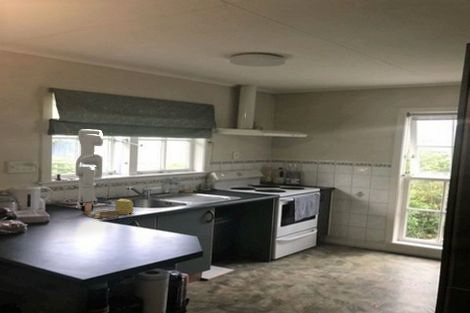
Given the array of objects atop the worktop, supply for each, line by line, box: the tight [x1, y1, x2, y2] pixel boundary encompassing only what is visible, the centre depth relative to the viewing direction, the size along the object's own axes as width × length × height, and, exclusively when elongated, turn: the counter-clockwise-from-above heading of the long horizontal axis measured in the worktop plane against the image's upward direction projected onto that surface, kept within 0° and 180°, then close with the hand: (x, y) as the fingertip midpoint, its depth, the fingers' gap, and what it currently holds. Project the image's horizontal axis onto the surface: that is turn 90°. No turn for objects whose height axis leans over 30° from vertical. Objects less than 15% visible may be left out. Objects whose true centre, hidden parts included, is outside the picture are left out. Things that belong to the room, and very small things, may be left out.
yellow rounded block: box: [115, 198, 134, 215], centre depth 335 cm, size 10×11×10 cm
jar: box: [82, 202, 93, 215], centre depth 322 cm, size 6×6×8 cm
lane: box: [86, 209, 120, 220], centre depth 318 cm, size 16×15×5 cm
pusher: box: [95, 208, 111, 215], centre depth 318 cm, size 1×11×4 cm, turn 141°
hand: (87, 210), depth 322 cm, fingers closed on jar, 6 cm apart
